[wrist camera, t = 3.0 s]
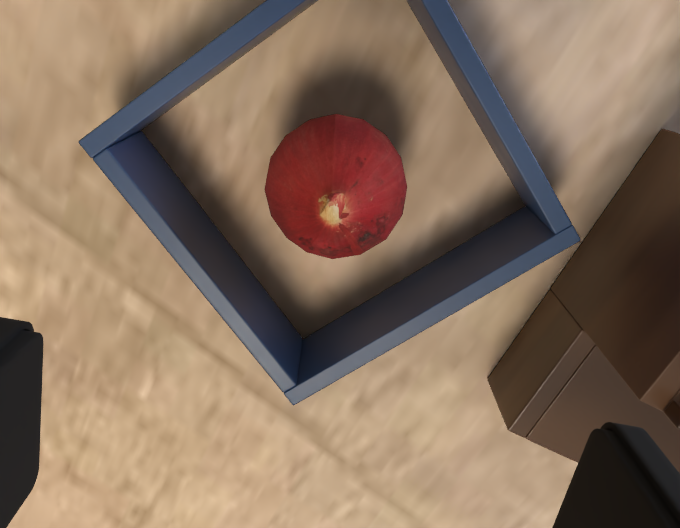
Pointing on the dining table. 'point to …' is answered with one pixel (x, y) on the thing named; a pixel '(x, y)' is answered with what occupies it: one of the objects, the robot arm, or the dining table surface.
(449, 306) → the crate
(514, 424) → the step shelf
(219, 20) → the dining table surface
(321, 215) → the onion
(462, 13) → the dining table surface
